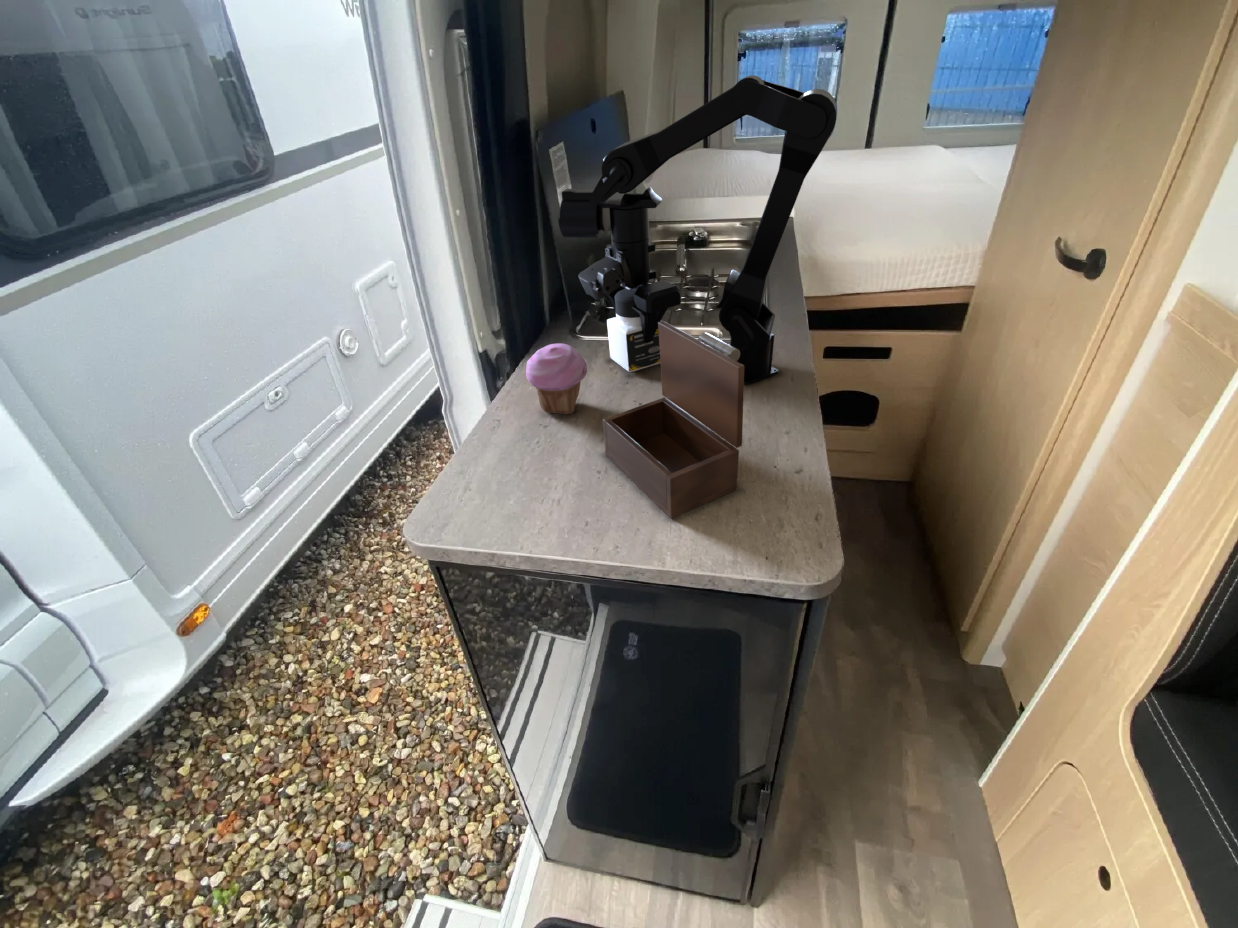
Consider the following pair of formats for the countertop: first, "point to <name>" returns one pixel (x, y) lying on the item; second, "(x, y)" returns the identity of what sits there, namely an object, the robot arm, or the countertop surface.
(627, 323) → the medicine bottle
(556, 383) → the cupcake
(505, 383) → the countertop surface
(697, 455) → the storage box
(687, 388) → the hatch
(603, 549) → the countertop surface
